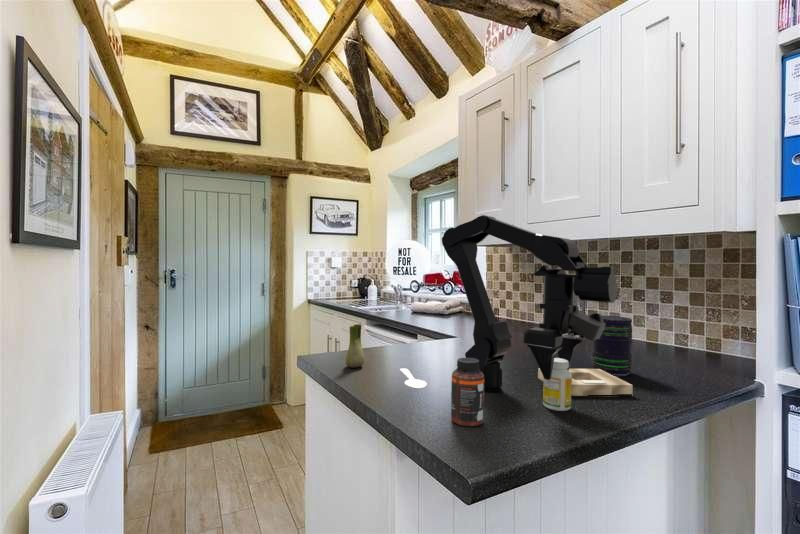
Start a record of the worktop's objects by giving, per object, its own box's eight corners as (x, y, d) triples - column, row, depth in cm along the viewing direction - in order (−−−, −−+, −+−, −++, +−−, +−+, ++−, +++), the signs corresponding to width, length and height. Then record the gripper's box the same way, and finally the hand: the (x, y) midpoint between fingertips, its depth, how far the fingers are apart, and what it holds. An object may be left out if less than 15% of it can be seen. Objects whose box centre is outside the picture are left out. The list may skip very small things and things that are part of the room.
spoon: (412, 369, 109) (412, 367, 109) (431, 389, 92) (431, 386, 92) (393, 370, 108) (393, 368, 108) (408, 390, 90) (408, 388, 90)
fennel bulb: (358, 363, 113) (358, 322, 113) (368, 367, 110) (369, 324, 110) (341, 367, 109) (342, 323, 109) (351, 370, 106) (352, 326, 106)
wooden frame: (561, 395, 88) (561, 383, 88) (538, 377, 102) (538, 367, 102) (632, 396, 88) (632, 384, 88) (599, 378, 102) (599, 368, 102)
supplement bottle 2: (548, 411, 78) (549, 362, 78) (539, 402, 83) (540, 356, 83) (575, 411, 78) (576, 363, 78) (564, 402, 83) (565, 357, 83)
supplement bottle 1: (490, 426, 70) (491, 362, 70) (459, 429, 68) (460, 364, 68) (474, 414, 76) (475, 355, 76) (445, 416, 74) (446, 356, 74)
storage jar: (588, 372, 108) (589, 318, 108) (594, 365, 116) (594, 314, 116) (630, 378, 102) (631, 321, 102) (633, 370, 110) (634, 317, 110)
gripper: (583, 305, 68) (581, 394, 68) (615, 299, 82) (613, 374, 82) (523, 300, 76) (521, 380, 76) (561, 296, 89) (559, 364, 89)
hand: (556, 375), depth 81 cm, fingers open, 9 cm apart
